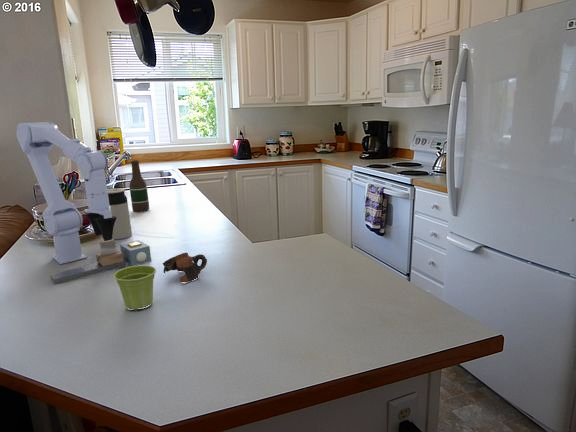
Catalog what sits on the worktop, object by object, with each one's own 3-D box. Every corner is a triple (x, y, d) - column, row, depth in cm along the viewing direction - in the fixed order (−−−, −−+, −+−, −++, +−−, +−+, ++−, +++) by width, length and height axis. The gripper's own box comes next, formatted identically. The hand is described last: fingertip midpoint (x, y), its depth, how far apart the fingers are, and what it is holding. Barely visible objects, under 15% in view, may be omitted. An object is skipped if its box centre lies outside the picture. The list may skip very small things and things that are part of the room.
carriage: (96, 261, 129) (93, 241, 127) (116, 256, 132) (113, 236, 131) (103, 266, 124) (99, 245, 123) (123, 261, 128) (120, 240, 126)
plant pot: (145, 294, 108) (141, 262, 106) (167, 303, 102) (163, 270, 100) (111, 308, 101) (105, 274, 99) (132, 319, 95) (127, 283, 93)
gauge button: (129, 254, 133) (127, 243, 132) (138, 252, 135) (137, 241, 134) (132, 256, 131) (131, 245, 130) (142, 254, 133) (140, 243, 132)
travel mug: (117, 241, 155) (110, 192, 151) (105, 237, 160) (98, 191, 155) (136, 235, 161) (130, 189, 157) (124, 232, 166) (118, 187, 161)
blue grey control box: (122, 259, 135) (119, 244, 134) (140, 254, 139) (138, 240, 138) (132, 266, 128) (130, 250, 127) (151, 261, 132) (149, 246, 131)
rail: (50, 279, 121) (49, 274, 120) (121, 261, 133) (120, 256, 133) (54, 284, 117) (53, 279, 116) (126, 265, 129) (126, 260, 129)
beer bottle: (131, 209, 205) (125, 160, 199) (148, 207, 208) (142, 159, 202) (133, 213, 198) (126, 161, 192) (150, 210, 201) (144, 160, 195)
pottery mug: (172, 290, 111) (159, 262, 112) (172, 292, 120) (160, 266, 121) (214, 270, 115) (201, 243, 116) (211, 274, 124) (199, 248, 125)
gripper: (75, 192, 126) (82, 235, 129) (90, 198, 115) (97, 245, 119) (99, 188, 130) (106, 230, 134) (116, 194, 120) (122, 240, 123)
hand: (103, 237), depth 127 cm, fingers open, 7 cm apart
